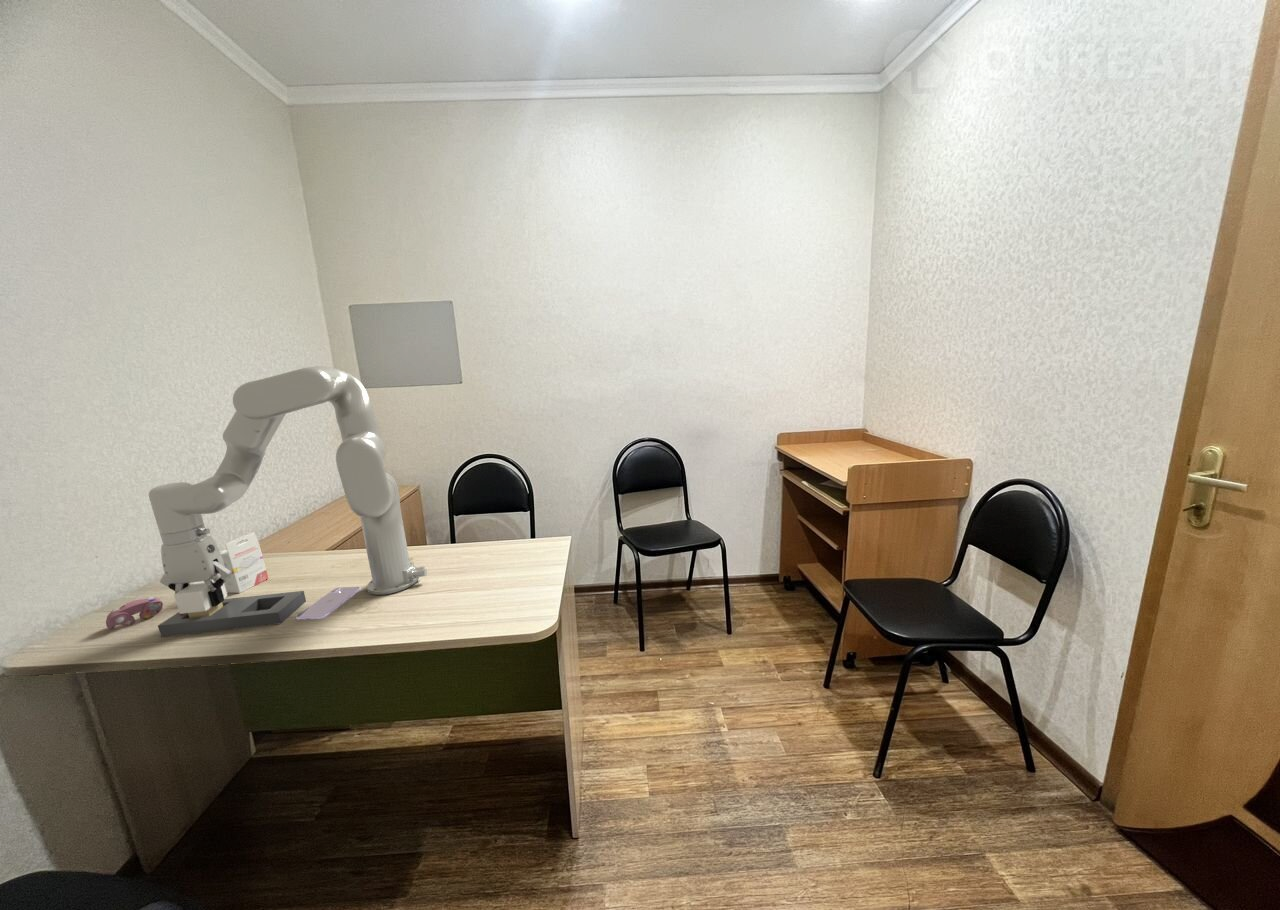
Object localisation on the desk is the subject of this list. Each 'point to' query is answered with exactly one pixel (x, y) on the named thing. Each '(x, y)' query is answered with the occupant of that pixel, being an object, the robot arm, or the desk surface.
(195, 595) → the plug
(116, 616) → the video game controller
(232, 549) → the ink cartridge box
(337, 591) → the mobile phone
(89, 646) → the desk surface
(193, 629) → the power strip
